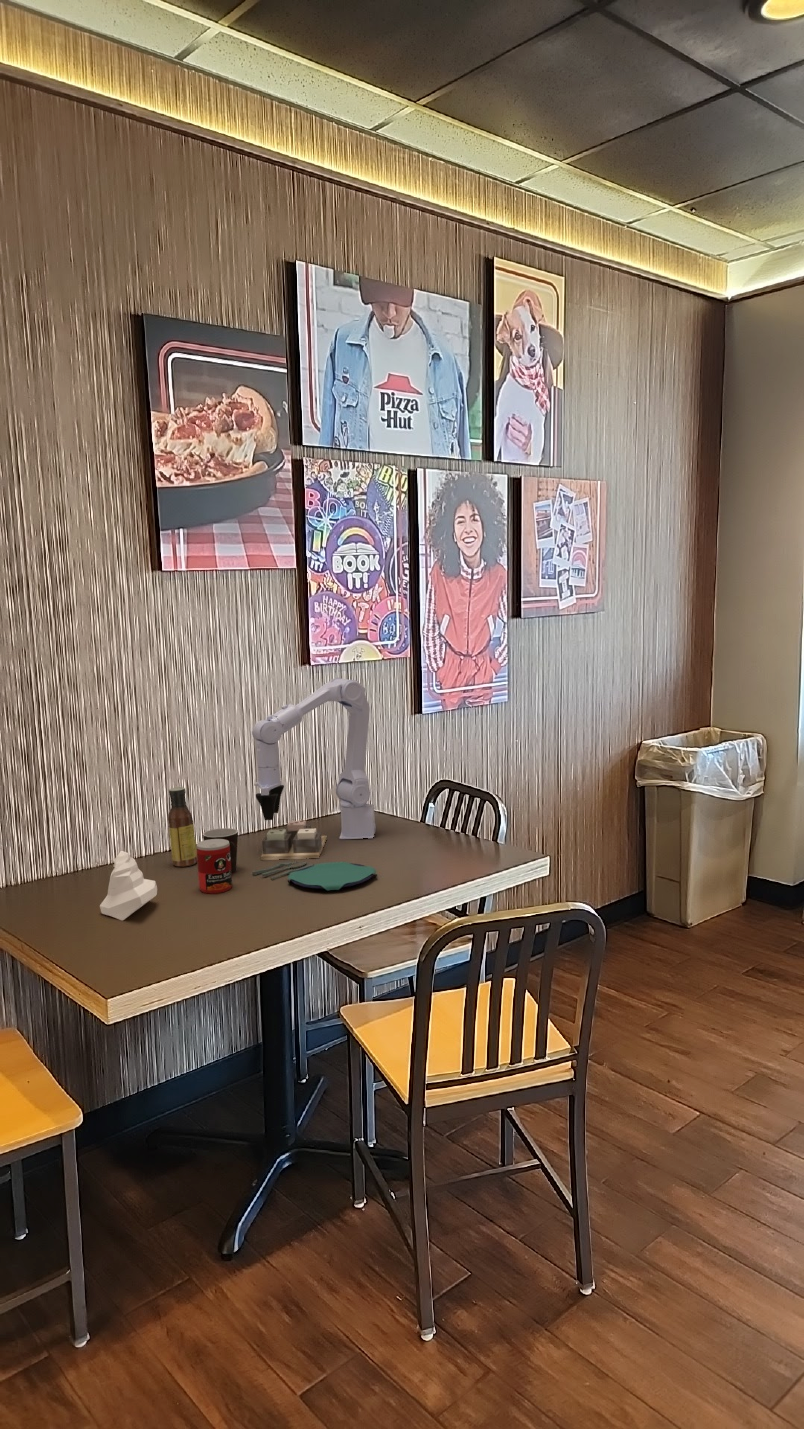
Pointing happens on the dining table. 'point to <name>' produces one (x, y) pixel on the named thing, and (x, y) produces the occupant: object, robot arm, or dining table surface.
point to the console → (293, 847)
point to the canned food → (214, 865)
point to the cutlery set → (324, 874)
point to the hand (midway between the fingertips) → (271, 816)
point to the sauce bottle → (181, 830)
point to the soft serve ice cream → (127, 888)
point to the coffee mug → (227, 835)
